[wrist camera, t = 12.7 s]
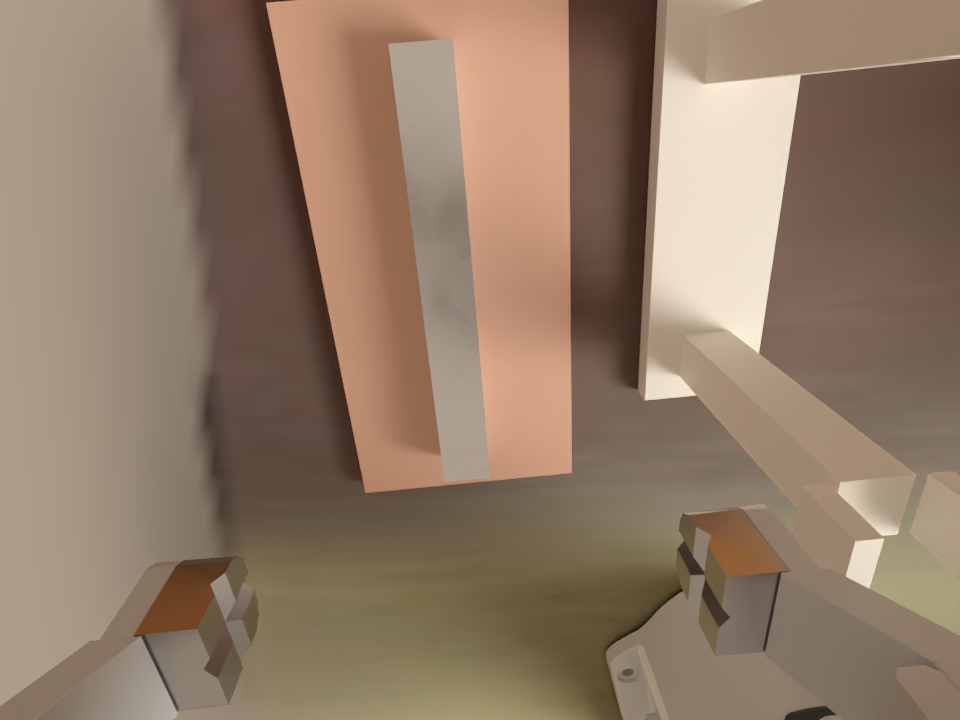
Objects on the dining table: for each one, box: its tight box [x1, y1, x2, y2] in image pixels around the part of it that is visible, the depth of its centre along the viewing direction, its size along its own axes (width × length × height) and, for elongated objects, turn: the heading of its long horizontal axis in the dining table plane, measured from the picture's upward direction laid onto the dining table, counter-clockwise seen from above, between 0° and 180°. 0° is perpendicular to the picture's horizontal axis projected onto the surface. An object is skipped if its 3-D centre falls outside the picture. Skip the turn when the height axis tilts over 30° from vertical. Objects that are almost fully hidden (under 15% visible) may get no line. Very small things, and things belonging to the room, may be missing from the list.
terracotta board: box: [266, 0, 572, 493], centre depth 27 cm, size 24×12×1 cm, turn 4°
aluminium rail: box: [388, 39, 490, 482], centre depth 25 cm, size 20×2×2 cm, turn 5°
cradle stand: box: [638, 0, 960, 588], centre depth 20 cm, size 19×6×16 cm, turn 4°
